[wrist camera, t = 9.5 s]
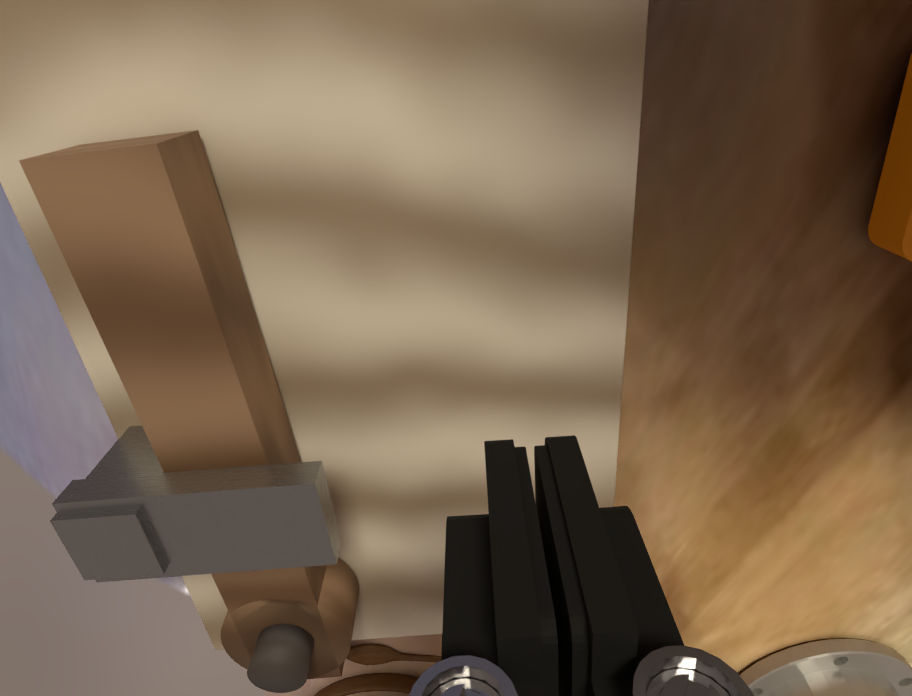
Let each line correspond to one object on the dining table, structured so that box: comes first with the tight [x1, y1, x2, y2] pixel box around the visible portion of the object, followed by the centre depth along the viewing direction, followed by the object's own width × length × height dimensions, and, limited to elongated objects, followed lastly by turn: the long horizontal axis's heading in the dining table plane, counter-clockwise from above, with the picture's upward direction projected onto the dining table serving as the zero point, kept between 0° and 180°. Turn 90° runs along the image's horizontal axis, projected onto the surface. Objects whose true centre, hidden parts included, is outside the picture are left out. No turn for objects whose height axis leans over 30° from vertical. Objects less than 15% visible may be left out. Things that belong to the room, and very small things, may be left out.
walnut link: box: [19, 130, 359, 693], centre depth 22 cm, size 25×6×5 cm, turn 6°
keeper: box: [50, 425, 342, 582], centre depth 23 cm, size 4×9×8 cm, turn 95°
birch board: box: [0, 0, 649, 650], centre depth 25 cm, size 32×22×2 cm
